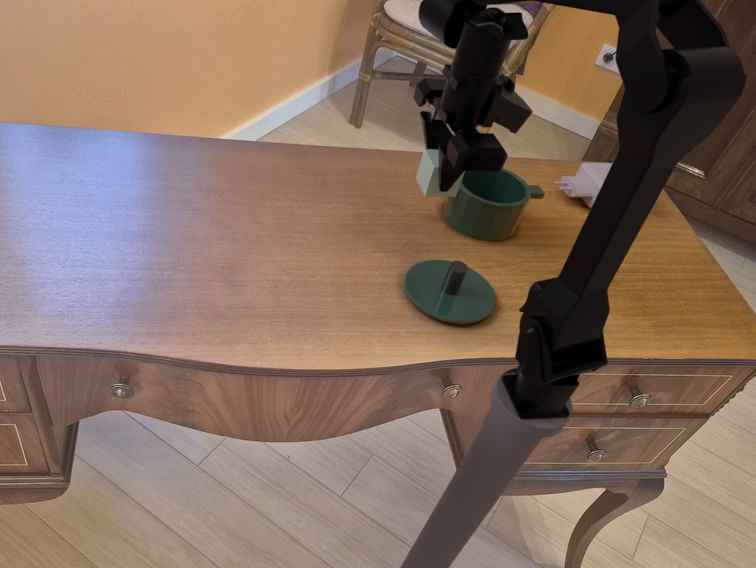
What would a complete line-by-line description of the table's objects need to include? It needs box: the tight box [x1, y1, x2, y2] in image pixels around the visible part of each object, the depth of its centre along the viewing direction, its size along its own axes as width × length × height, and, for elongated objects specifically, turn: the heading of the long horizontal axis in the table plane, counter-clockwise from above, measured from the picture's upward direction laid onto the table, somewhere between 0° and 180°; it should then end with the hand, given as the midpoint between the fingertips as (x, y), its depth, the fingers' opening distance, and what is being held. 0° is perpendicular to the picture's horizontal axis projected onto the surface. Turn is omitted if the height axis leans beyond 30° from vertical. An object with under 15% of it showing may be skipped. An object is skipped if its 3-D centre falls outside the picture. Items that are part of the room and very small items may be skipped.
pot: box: [443, 167, 546, 242], centre depth 96 cm, size 12×17×6 cm
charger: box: [554, 162, 613, 209], centre depth 105 cm, size 5×9×15 cm
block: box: [415, 148, 465, 198], centre depth 83 cm, size 4×4×4 cm
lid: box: [403, 259, 497, 325], centre depth 83 cm, size 13×13×5 cm
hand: (438, 181), depth 84 cm, fingers closed on block, 4 cm apart
